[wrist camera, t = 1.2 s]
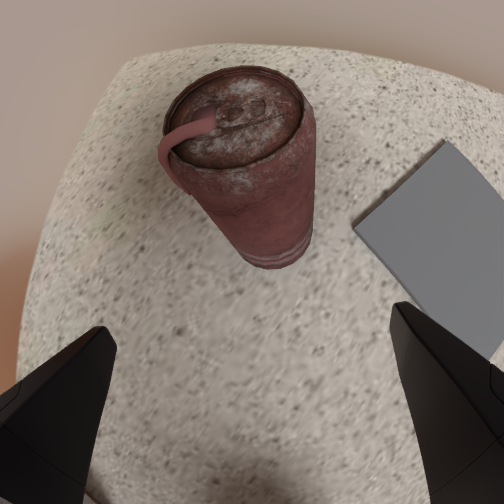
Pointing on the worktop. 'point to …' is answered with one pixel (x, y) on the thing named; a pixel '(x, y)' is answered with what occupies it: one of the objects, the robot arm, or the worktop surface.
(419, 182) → the slate mat
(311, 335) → the worktop surface
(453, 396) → the robot arm
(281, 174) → the can
